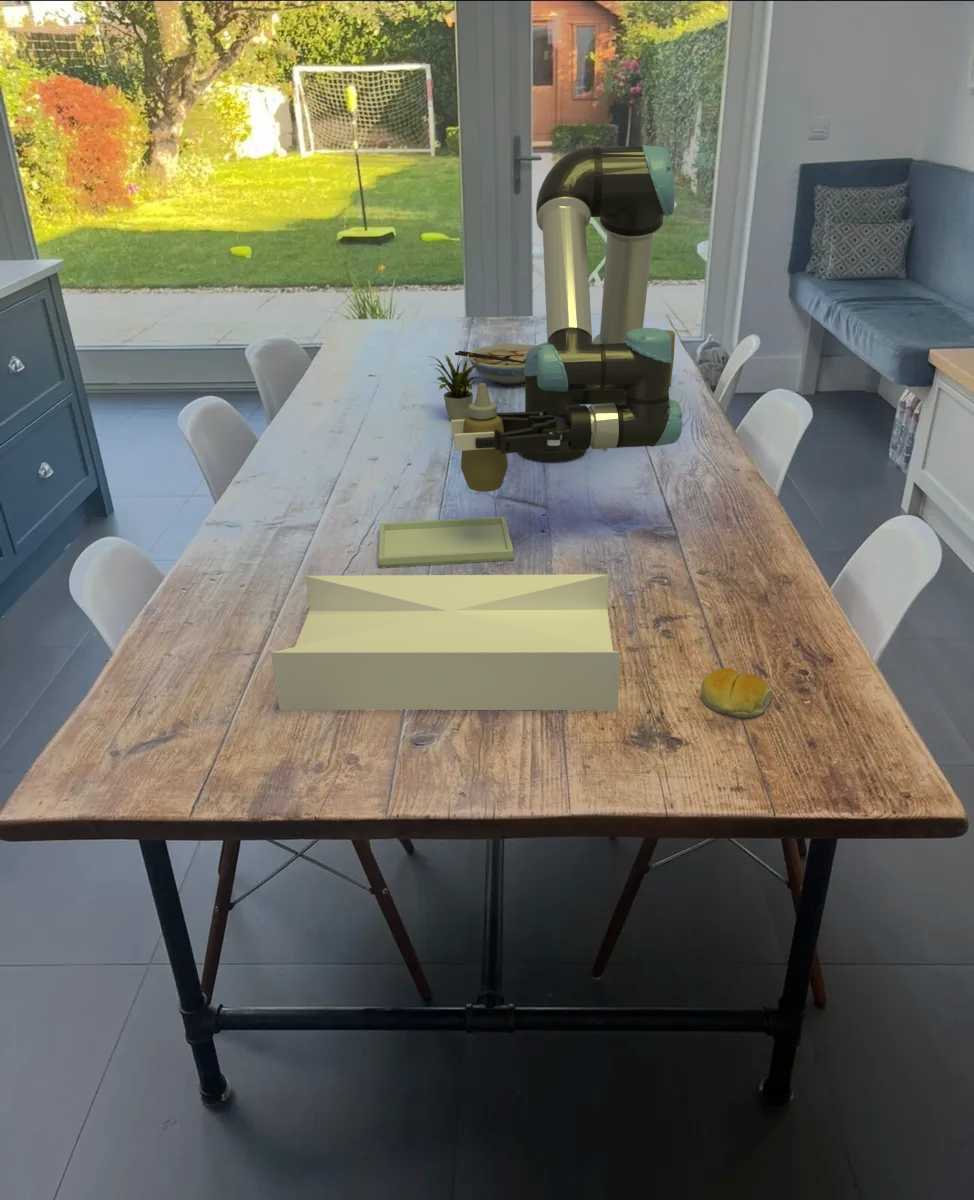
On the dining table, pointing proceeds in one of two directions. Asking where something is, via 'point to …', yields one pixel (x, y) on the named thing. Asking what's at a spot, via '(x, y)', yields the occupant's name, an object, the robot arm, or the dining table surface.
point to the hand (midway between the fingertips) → (453, 435)
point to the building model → (452, 644)
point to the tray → (444, 542)
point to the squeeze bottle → (486, 464)
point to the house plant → (457, 390)
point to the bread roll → (736, 693)
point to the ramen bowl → (500, 362)
